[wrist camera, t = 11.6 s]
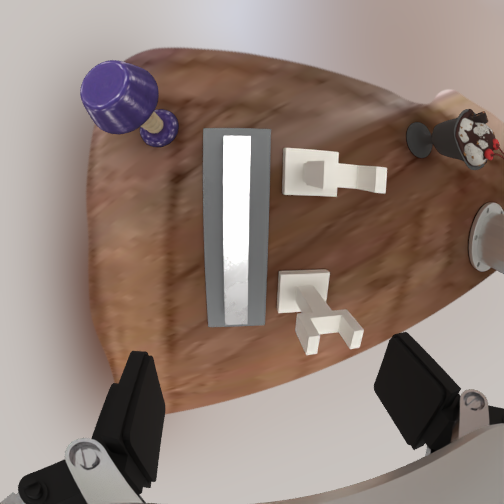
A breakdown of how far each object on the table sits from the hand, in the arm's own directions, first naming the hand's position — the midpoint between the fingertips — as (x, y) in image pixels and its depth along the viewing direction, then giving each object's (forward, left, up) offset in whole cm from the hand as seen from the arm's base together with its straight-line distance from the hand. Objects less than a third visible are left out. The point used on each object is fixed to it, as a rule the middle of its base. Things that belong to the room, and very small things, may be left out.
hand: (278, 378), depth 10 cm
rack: (-8, 0, -22) cm, 24 cm away
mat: (0, 0, -22) cm, 22 cm away
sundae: (-24, -13, -23) cm, 35 cm away
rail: (0, 0, -20) cm, 20 cm away
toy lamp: (+8, -12, -23) cm, 27 cm away
